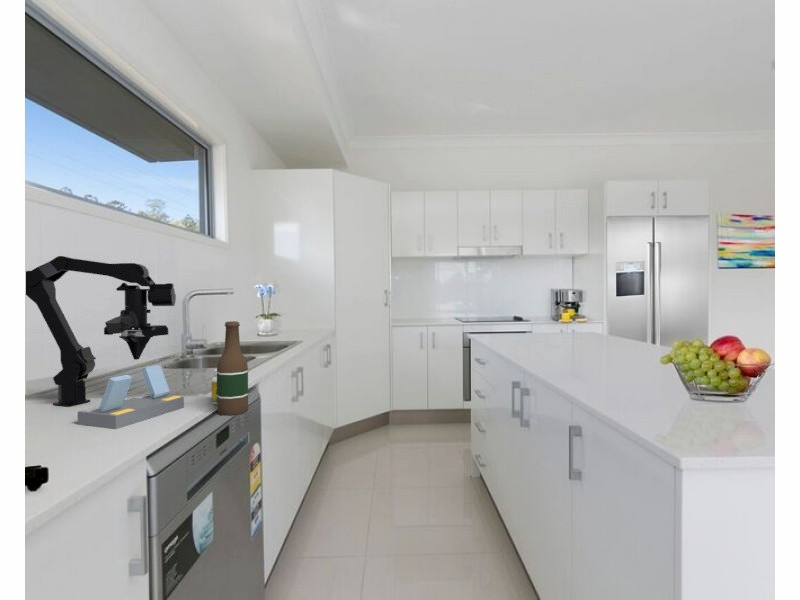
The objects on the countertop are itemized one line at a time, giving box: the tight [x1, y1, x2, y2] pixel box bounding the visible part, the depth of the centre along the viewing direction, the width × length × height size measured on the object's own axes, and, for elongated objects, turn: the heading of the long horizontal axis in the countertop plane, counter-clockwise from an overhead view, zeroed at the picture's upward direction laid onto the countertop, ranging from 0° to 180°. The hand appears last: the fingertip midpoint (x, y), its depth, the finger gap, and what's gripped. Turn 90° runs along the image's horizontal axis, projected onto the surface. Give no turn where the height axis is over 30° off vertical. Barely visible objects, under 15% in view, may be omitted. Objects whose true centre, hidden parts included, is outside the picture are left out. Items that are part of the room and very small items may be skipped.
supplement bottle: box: [211, 368, 217, 406], centre depth 133 cm, size 5×5×10 cm
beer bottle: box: [216, 320, 249, 417], centre depth 122 cm, size 8×8×24 cm
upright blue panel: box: [99, 374, 134, 412], centre depth 111 cm, size 2×5×9 cm, turn 162°
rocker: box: [140, 364, 171, 398], centre depth 126 cm, size 2×5×9 cm, turn 162°
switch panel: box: [77, 393, 185, 430], centre depth 119 cm, size 12×21×3 cm, turn 162°
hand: (136, 359), depth 136 cm, fingers closed
